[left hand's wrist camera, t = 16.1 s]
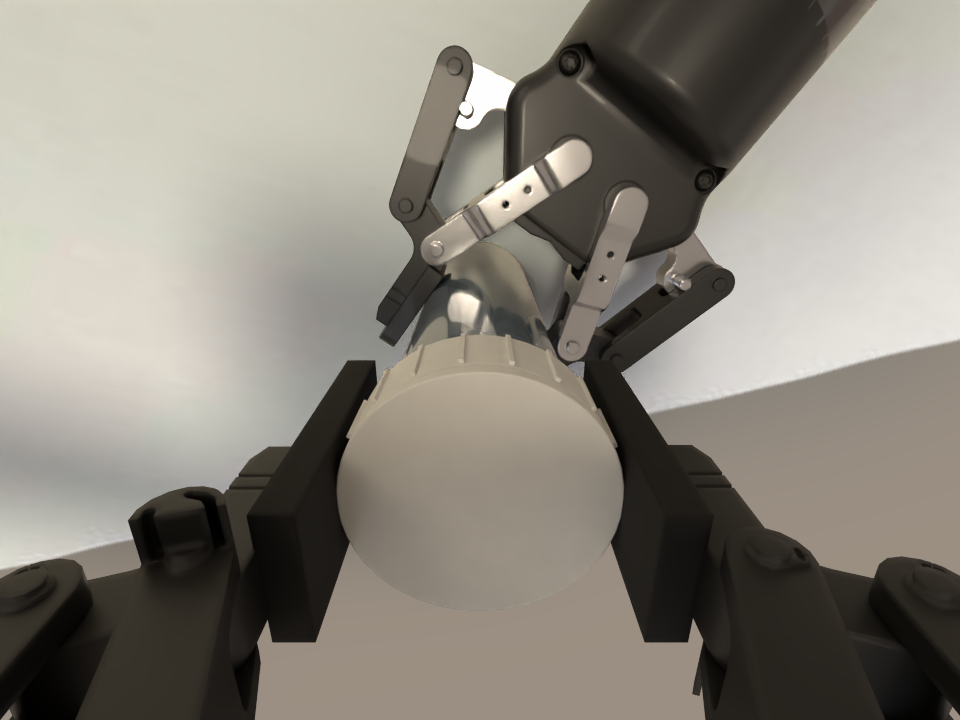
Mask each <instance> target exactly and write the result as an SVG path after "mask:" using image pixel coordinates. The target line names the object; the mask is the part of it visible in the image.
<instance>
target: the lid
mask: <svg viewBox="0 0 960 720" xmlns="http://www.w3.org/2000/svg"><path fill="white" fill-rule="evenodd" d="M346 437H347V438H349V439H350V440H349V442H348V444H347V446H346V449H345V451H344V454H343V456H342V458H341V462H340V466H339V470H338V474H337V486H336V494H337V502H338V510H339V515H340V520H341V523H342V526H343V528H344V531H345V533H346V536H347V538H348V539H349V541H350V543H351V544H352V546H353V548H354V550H355V551H356V552H357V554H358V555H359V556H360V558H361V559H362V560H363V561H364V563H365V564H366V565H367V566H368V567H369V568H370V569H371V570H372V571H373V572H374V573H375V574H377V575H378V576H379V577H380V578H382V579H383V580H384V581H386V582H387V583H388V584H390V585H391V586H393V587H395V588H396V589H398V590H400V591H401V592H403V593H405V594H407V595H410V596H412V597H414V598H416V599H418V600H422V601H424V602H427V603H430V604H433V605H437V606H441V607H446V608H450V609H458V610H466V611H492V610H503V609H509V608H515V607H520V606H523V605H527V604H530V603H534V602H537V601H539V600H542V599H544V598H547V597H549V596H551V595H553V594H555V593H557V592H559V591H561V590H563V589H564V588H566V587H567V586H569V585H570V584H572V583H573V582H575V581H576V580H578V579H579V578H580V577H581V576H582V575H584V574H585V573H586V572H587V571H588V570H589V569H590V568H591V567H592V566H593V565H594V564H595V563H596V562H597V561H598V560H599V558H600V557H601V556H602V554H603V553H604V552H605V550H606V549H607V547H608V546H609V544H610V542H611V540H612V538H613V536H614V534H615V532H616V530H617V527H618V524H619V521H620V518H621V513H622V505H623V497H624V479H623V472H622V467H621V464H620V461H619V457H618V454H617V452H616V449H615V448H616V447H618V446H617V443H616V441H615V439H614V436H613V434H612V432H611V430H610V428H609V426H608V424H607V422H606V420H605V418H604V416H603V414H602V411H601V409H600V408H599V409H597V408H596V405H595V403H594V401H593V399H592V397H591V395H590V393H589V390H588V388H587V386H586V384H585V382H584V380H583V378H582V377H581V375H579V376H578V377H577V376H576V375H575V374H574V373H573V372H572V371H571V370H570V369H569V368H568V367H567V366H566V365H565V364H563V363H562V362H561V361H560V360H558V359H557V358H556V357H554V356H553V354H552V352H551V351H550V350H549V349H547V350H546V351H544V350H542V349H540V348H538V347H535V346H533V345H531V344H529V343H526V342H523V341H519V340H516V339H512V338H511V335H507V334H506V336H505V337H501V336H495V335H468V336H466V333H461V336H458V337H454V338H449V339H444V340H441V341H438V342H435V343H432V344H430V345H427V346H425V347H424V346H423V344H422V345H420V346H418V349H417V351H415V352H413V353H411V354H410V355H408V356H407V357H405V358H404V359H402V360H401V361H399V362H398V363H397V364H396V365H395V366H394V367H393V368H391V369H388V368H386V369H385V370H384V373H383V375H382V377H381V379H380V382H379V383H378V384H377V385H376V387H375V389H374V390H373V392H372V394H371V395H370V397H369V399H368V401H367V400H364V401H363V403H362V405H361V407H360V409H359V411H358V413H357V415H356V417H355V420H354V422H353V424H352V426H351V428H350V430H349V432H348V434H347V436H346Z"/></svg>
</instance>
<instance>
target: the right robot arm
mask: <svg viewBox="0 0 960 720" xmlns="http://www.w3.org/2000/svg"><path fill="white" fill-rule="evenodd" d="M875 2H876V0H590V1H589V2H588V4H587V5H586V7H585V8H584V10H583V11H582V13H581V14H580V16H579V17H578V19H577V20H576V22H575V23H574V25H573V26H572V28H571V29H570V30H569V32H568V33H567V35H566V36H565V38H564V39H563V41H562V42H561V44H560V45H559V47H558V48H557V50H556V51H555V53H554V54H553V56H552V57H551V58H550V60H549V61H548V62H547V63H546V64H545V65H544V66H542V67H541V68H540V69H538V70H537V71H535V72H533V73H531V74H529V75H527V76H525V77H524V78H522V79H521V80H520V81H518V82H517V83H515V82H513V81H511V80H509V79H507V78H505V77H503V76H500V75H498V74H496V73H494V72H492V71H490V70H488V69H486V68H484V67H482V66H480V65H478V64H475V63H474V62H472V59H471V56H470V55H469V53H468V52H467V51H466V50H465V49H464V48H462V47H460V46H449V47H447V48H445V49H444V50H443V51H442V52H441V53H440V55H439V57H438V59H437V62H436V65H435V68H434V71H433V74H432V77H431V80H430V83H429V86H428V89H427V92H426V94H425V97H424V100H423V103H422V106H421V109H420V112H419V115H418V118H417V121H416V124H415V127H414V130H413V133H412V136H411V139H410V142H409V145H408V148H407V151H406V154H405V157H404V160H403V162H402V165H401V168H400V171H399V174H398V177H397V180H396V183H395V186H394V189H393V192H392V195H391V198H390V202H389V208H390V211H391V213H392V215H393V216H394V217H395V219H397V220H398V221H400V222H401V223H402V225H403V226H404V228H405V229H406V230H407V232H408V233H409V235H410V236H411V238H412V240H413V244H414V252H413V255H412V258H411V259H410V261H409V262H408V264H407V265H406V267H405V268H404V270H403V271H402V273H401V274H400V276H399V277H398V279H397V280H396V282H395V283H394V284H393V286H392V287H391V289H390V290H389V292H388V293H387V295H386V296H385V298H384V299H383V301H382V302H381V304H380V305H379V307H378V312H377V317H376V320H378V321H380V322H381V323H383V324H384V325H386V326H385V328H384V329H383V331H382V333H381V335H380V336H379V338H380V339H382V340H383V341H385V342H386V343H388V344H389V345H391V346H392V347H394V346H395V344H396V343H397V342H398V340H399V339H400V337H401V336H402V335H403V333H404V332H405V330H406V329H407V328H408V326H409V325H410V323H411V322H412V321H413V319H414V318H415V316H416V315H417V314H418V312H419V311H420V309H421V308H422V306H423V305H424V304H425V302H426V301H427V299H428V297H429V296H430V295H431V294H432V292H433V291H434V290H435V288H436V287H437V285H438V284H439V282H440V281H441V280H442V278H443V277H444V274H445V271H446V267H447V265H446V263H447V262H449V261H450V260H452V259H453V258H455V257H456V256H458V255H459V254H461V253H462V252H464V251H465V250H467V249H468V248H470V247H471V246H473V245H474V244H476V243H477V242H479V241H480V240H482V239H484V238H486V237H488V236H490V235H492V234H494V233H495V232H497V231H498V230H500V229H501V228H503V227H504V226H506V225H507V224H509V223H510V222H512V221H513V220H514V222H516V223H517V224H518V225H519V226H521V227H522V228H523V229H525V230H526V231H527V232H529V233H530V234H532V235H535V236H537V237H540V238H542V239H545V240H547V241H549V242H550V243H551V244H552V245H553V247H554V248H555V249H556V251H557V252H558V253H559V254H560V256H561V257H562V258H563V259H564V260H565V261H567V262H568V263H569V265H568V268H567V271H566V274H565V277H564V281H563V289H562V293H561V296H560V299H559V302H558V305H557V308H556V310H555V313H554V316H553V319H552V322H551V325H550V328H549V330H548V331H547V333H548V335H549V338H550V340H551V343H552V346H553V348H554V351H555V353H556V356H557V359H558V360H560V361H561V362H562V363H563V364H565V365H566V366H568V365H570V364H572V363H574V362H578V361H584V362H585V360H613V362H614V363H615V365H616V367H617V368H618V370H619V371H620V373H621V372H623V371H625V370H626V369H627V368H629V367H630V366H631V365H633V364H634V363H636V362H637V361H638V360H640V359H641V358H642V357H644V356H645V355H647V354H648V353H649V352H651V351H652V350H653V349H655V348H656V347H658V346H659V345H660V344H662V343H663V342H664V341H666V340H667V339H669V338H670V337H671V336H673V335H674V334H675V333H677V332H678V331H680V330H681V329H682V328H684V327H685V326H686V325H688V324H689V323H691V322H692V321H693V320H695V319H696V318H697V317H699V316H700V315H702V314H703V313H704V312H706V311H707V310H708V309H710V308H711V307H713V306H714V305H715V304H717V303H718V302H719V301H721V300H722V299H724V298H725V297H726V296H728V295H729V294H730V293H731V291H732V290H733V288H734V285H735V278H734V275H733V274H732V273H731V272H730V271H729V270H727V269H725V268H723V267H722V266H720V265H718V264H716V263H715V262H714V261H713V259H712V258H711V256H710V255H709V253H708V252H707V251H706V249H705V248H704V246H703V245H702V243H701V242H700V240H699V239H698V238H697V236H696V235H695V233H694V231H695V229H696V227H697V225H698V222H699V218H700V214H701V211H702V208H703V206H704V203H705V201H706V199H707V198H708V196H709V195H710V193H711V192H712V191H713V190H714V188H715V187H716V186H717V185H718V184H719V183H720V182H721V181H722V180H723V179H724V178H725V177H726V176H727V175H728V174H729V173H730V172H731V171H732V170H733V169H734V167H735V166H736V165H737V164H738V163H739V162H740V160H741V159H742V158H743V157H744V156H745V155H746V153H747V152H748V151H749V150H750V149H751V147H752V146H753V145H754V144H755V143H756V142H757V140H758V139H759V138H760V137H761V136H762V135H763V133H764V132H765V131H766V130H767V129H768V128H769V126H770V125H771V124H772V123H773V122H774V120H775V119H776V118H777V117H778V116H779V115H780V113H781V112H782V111H783V110H784V109H785V108H786V106H787V105H788V104H789V103H790V102H791V101H792V99H793V98H794V97H795V96H796V95H797V93H798V92H799V91H800V90H801V89H802V88H803V86H804V85H805V84H806V83H807V82H808V80H809V79H810V78H811V77H812V76H813V75H814V74H815V72H816V71H817V70H818V69H819V68H820V66H821V65H822V64H823V63H824V62H825V61H826V59H827V58H828V57H829V56H830V55H831V54H832V52H833V51H834V50H835V49H836V48H837V46H838V45H839V44H840V43H841V42H842V41H843V39H844V38H845V37H846V36H847V35H848V34H849V32H850V31H851V30H852V29H853V28H854V26H855V25H856V24H857V23H858V22H859V21H860V19H861V18H862V17H863V16H864V15H865V14H866V12H867V11H868V10H869V9H870V8H871V7H872V5H873V4H874V3H875ZM494 110H500V111H503V112H504V166H503V179H502V180H500V181H499V182H497V183H496V184H494V185H493V186H492V187H490V188H489V189H487V190H486V191H484V192H483V193H481V194H480V195H479V196H477V197H476V198H474V199H473V200H472V201H470V202H469V203H468V204H467V205H465V206H464V207H462V208H461V209H460V210H458V211H457V212H455V213H454V214H452V215H451V216H449V217H448V218H447V219H445V220H443V219H442V217H441V216H440V214H439V213H438V211H437V210H436V208H435V207H434V206H433V204H432V203H431V201H430V199H431V197H432V194H433V191H434V189H435V186H436V183H437V180H438V178H439V175H440V172H441V169H442V167H443V164H444V161H445V159H446V156H447V153H448V150H449V148H450V145H451V142H452V139H453V137H454V134H455V131H456V128H460V129H462V130H472V129H474V128H476V127H477V126H478V125H479V124H480V123H481V121H482V119H483V117H484V116H485V115H486V114H487V113H489V112H491V111H494ZM666 249H668V256H667V259H666V261H665V262H664V264H663V265H662V266H661V267H660V268H659V269H658V271H657V274H656V281H657V284H655V285H654V286H653V287H651V288H650V289H649V290H647V291H646V292H645V293H643V294H642V295H641V296H640V297H638V298H637V299H636V300H634V301H633V302H632V303H630V304H629V305H628V306H626V307H625V308H624V309H623V310H621V311H620V312H619V313H617V314H616V315H615V316H613V317H612V318H611V319H609V320H608V321H607V322H605V323H604V324H603V325H602V326H600V327H596V325H597V322H598V320H599V317H600V315H601V313H602V312H603V311H604V310H605V309H606V308H607V307H608V305H609V302H610V300H611V297H612V294H613V292H614V289H615V286H616V284H617V281H618V279H619V276H620V273H621V271H622V268H623V266H624V263H625V262H629V261H632V260H635V259H638V258H641V257H644V256H648V255H651V254H654V253H657V252H660V251H663V250H666ZM600 275H602V277H601V278H599V276H600ZM598 278H599V279H598Z"/></svg>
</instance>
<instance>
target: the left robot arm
mask: <svg viewBox="0 0 960 720" xmlns="http://www.w3.org/2000/svg"><path fill="white" fill-rule="evenodd" d="M584 382H585V384H586V386H587V388H588V390H589V393H590V395H591V397H592V399H593V401H594V403H595V405H596V408H597V409H599V408H600V409H601V411H602V414H603V416H604V418H605V420H606V422H607V424H608V426H609V428H610V430H611V432H612V434H613V436H614V439H615V441H616V443H617V446H618V447H616V448H615V449H616V452H617V454H618V457H619V461H620V464H621V467H622V472H623V479H624V497H623V505H622V513H621V518H620V521H619V524H618V527H617V530H616V532H615V534H614V536H613V538H612V540H611V545H612V548H613V550H614V553H615V556H616V559H617V562H618V565H619V568H620V571H621V574H622V577H623V580H624V583H625V586H626V589H627V592H628V595H629V597H630V600H631V603H632V606H633V609H634V612H635V615H636V618H637V621H638V624H639V627H640V630H641V633H642V636H643V639H644V642H688V639H689V634H690V629H691V625H692V620H693V619H694V621H695V623H696V625H697V627H698V629H699V631H700V634H701V636H702V638H703V645H702V649H701V654H700V658H699V663H698V667H697V672H696V676H695V681H694V687H693V694H694V695H698V696H699V695H700V691H701V687H702V691H703V701H704V710H705V719H706V720H953V718H952V717H951V716H950V715H949V713H950V710H951V709H952V707H953V708H954V709H955V710H956V711H957V713H958V714H959V715H960V576H959V575H957V574H955V573H953V572H952V571H950V570H948V569H946V568H944V567H942V566H939V565H937V564H933V563H931V562H927V561H924V560H921V559H915V558H908V557H893V558H887V559H886V560H884V561H883V562H882V563H880V564H879V566H878V569H877V572H876V574H875V577H874V578H869V577H865V576H860V575H856V574H851V573H847V572H842V571H838V570H833V569H829V568H826V567H822V566H819V563H818V562H817V561H816V559H815V558H814V556H813V555H812V554H811V552H810V551H809V550H808V549H806V548H805V547H804V546H802V545H801V544H800V543H799V542H797V541H796V540H794V539H792V538H790V537H788V536H786V535H784V534H782V533H780V532H776V531H773V530H769V529H766V528H764V526H763V525H762V524H761V522H760V521H759V520H758V519H757V517H756V516H755V515H754V513H753V512H752V511H751V510H750V508H749V507H748V506H747V504H746V503H745V502H744V500H743V499H742V498H741V497H740V495H739V494H738V493H737V491H736V490H735V489H734V488H732V487H731V484H730V482H729V481H728V480H727V478H726V477H725V476H724V475H722V472H721V471H720V469H719V468H718V467H717V465H716V464H715V463H714V462H713V460H712V459H711V458H710V457H709V456H707V455H706V454H704V453H703V452H701V451H700V450H698V449H697V448H695V447H694V446H692V445H668V444H667V443H666V441H665V440H664V438H663V437H662V435H661V434H660V432H659V431H658V429H657V428H656V426H655V425H654V423H653V422H652V420H651V418H650V417H649V415H648V414H647V412H646V411H645V409H644V408H643V406H642V405H641V403H640V402H639V400H638V399H637V397H636V396H635V394H634V392H633V391H632V389H631V388H630V386H629V385H628V383H627V382H626V380H625V379H624V377H623V376H622V374H621V373H620V371H619V370H618V368H617V367H616V365H615V363H614V362H613V360H585V367H584ZM376 385H377V376H376V364H375V360H348V361H347V362H346V364H345V365H344V367H343V369H342V370H341V372H340V373H339V375H338V376H337V378H336V379H335V381H334V382H333V384H332V385H331V387H330V388H329V390H328V391H327V393H326V394H325V396H324V398H323V399H322V401H321V402H320V404H319V405H318V407H317V408H316V410H315V411H314V413H313V414H312V416H311V417H310V419H309V420H308V422H307V424H306V425H305V427H304V428H303V430H302V431H301V433H300V434H299V436H298V437H297V439H296V440H295V442H294V443H293V445H292V446H291V447H268V448H266V449H265V450H263V451H262V452H260V453H259V454H257V455H256V456H254V457H253V458H251V459H250V460H249V461H248V463H247V464H246V465H245V467H244V468H243V469H242V470H241V472H240V473H239V477H236V478H235V480H234V481H233V482H232V484H231V485H230V486H229V490H226V491H225V493H224V494H222V493H221V492H220V491H218V490H217V489H214V488H209V487H205V486H200V487H186V488H182V489H178V490H174V491H170V492H168V493H165V494H163V495H161V496H158V497H156V498H154V499H152V500H150V501H149V502H147V503H146V504H144V505H143V506H141V507H140V508H139V509H137V510H136V511H135V513H134V514H133V515H132V516H131V517H130V519H129V520H128V522H129V525H130V529H131V532H132V535H133V538H134V541H135V545H136V548H137V551H138V554H139V557H140V561H141V567H140V568H139V569H135V570H132V571H128V572H123V573H119V574H114V575H110V576H105V577H101V578H96V579H92V580H87V578H86V576H85V573H84V571H83V568H82V566H81V565H79V564H78V563H77V562H76V561H74V560H67V559H54V560H47V561H41V562H38V563H35V564H31V565H29V566H25V567H23V568H20V569H18V570H16V571H14V572H12V573H10V574H8V575H6V576H4V577H3V578H1V579H0V720H1V718H2V717H3V716H4V715H5V713H6V712H7V711H8V710H10V711H11V713H12V717H11V718H10V720H255V711H256V702H257V693H258V683H259V674H260V664H261V662H260V655H259V649H258V645H257V641H258V639H259V637H260V635H261V633H262V630H263V628H264V626H265V624H266V622H267V620H268V623H269V628H270V633H271V638H272V642H316V640H317V637H318V634H319V631H320V628H321V625H322V622H323V619H324V616H325V613H326V610H327V607H328V604H329V601H330V598H331V595H332V592H333V590H334V586H335V584H336V581H337V578H338V575H339V572H340V569H341V566H342V563H343V560H344V557H345V554H346V551H347V548H348V545H349V542H350V541H349V539H348V538H347V536H346V533H345V531H344V528H343V526H342V523H341V520H340V515H339V510H338V502H337V494H336V486H337V474H338V470H339V466H340V462H341V458H342V456H343V454H344V451H345V449H346V446H347V444H348V442H349V440H350V439H349V438H347V437H346V436H347V434H348V432H349V430H350V428H351V426H352V424H353V422H354V420H355V417H356V415H357V413H358V411H359V409H360V407H361V405H362V403H363V401H364V400H367V401H368V399H369V397H370V395H371V394H372V392H373V390H374V389H375V387H376Z"/></svg>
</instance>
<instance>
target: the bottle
mask: <svg viewBox="0 0 960 720" xmlns="http://www.w3.org/2000/svg"><path fill="white" fill-rule="evenodd" d="M446 265H447V267H446V271H445V274H444V277H443V278H442V280H441V281H440V282H439V284H438V285H437V287H436V288H435V290H434V291H433V292H432V294H431V295H430V296H429V297H428V299H427V301H426V302H425V304H424V305H423V308H422V310H421V313H420V315H419V318H418V321H417V323H416V326H415V328H414V331H413V334H412V336H411V339H410V341H409V344H408V347H407V349H406V352H405V354H404V357H403V359H404V358H405V357H407V356H408V355H410V354H411V353H413V352H415V351H417V349H418V346H420V345H422V344H423V346H424V347H425V346H427V345H430V344H432V343H435V342H438V341H441V340H444V339H449V338H454V337H458V336H461V333H466V336H468V335H495V336H501V337H505V336H506V334H507V335H511V338H512V339H516V340H519V341H523V342H526V343H529V344H531V345H533V346H535V347H538V348H540V349H542V350H544V351H546V350H547V349H549V350H550V351H551V352H552V354H553V356H554V357H556V358H557V356H556V353H555V351H554V348H553V346H552V343H551V340H550V338H549V335H548V333H547V330H546V328H545V325H544V322H543V320H542V317H541V315H540V312H539V309H538V307H537V304H536V302H535V299H534V296H533V294H532V291H531V289H530V286H529V284H528V281H527V278H526V276H525V273H524V271H523V269H522V267H521V265H520V263H519V262H518V260H517V259H516V258H515V257H514V256H513V255H512V254H511V253H510V252H508V251H507V250H505V249H504V248H502V247H500V246H497V245H494V244H491V243H484V242H477V243H476V244H474V245H473V246H471V247H470V248H468V249H467V250H465V251H464V252H462V253H461V254H459V255H458V256H456V257H455V258H453V259H452V260H450V261H449V262H447V263H446Z"/></svg>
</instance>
